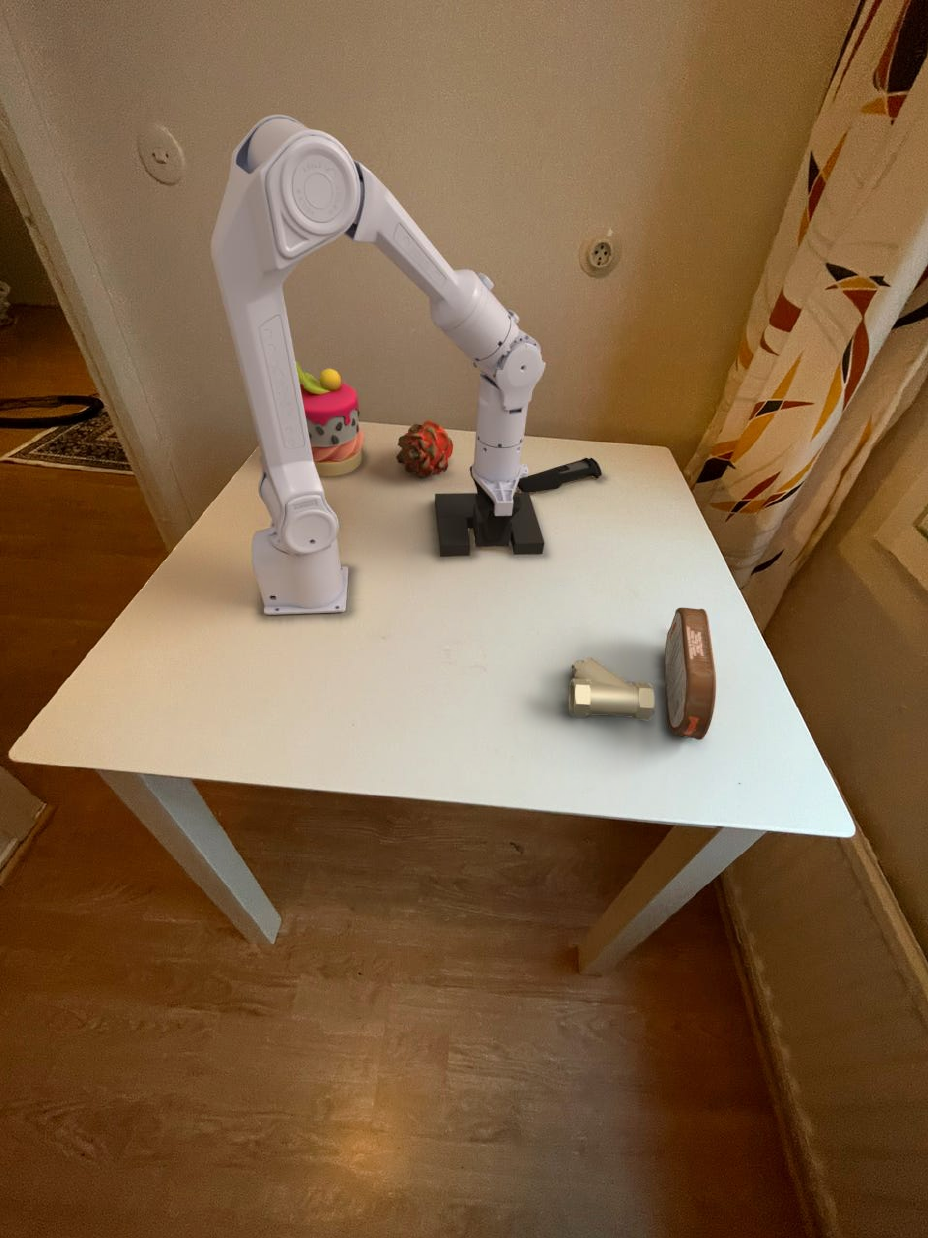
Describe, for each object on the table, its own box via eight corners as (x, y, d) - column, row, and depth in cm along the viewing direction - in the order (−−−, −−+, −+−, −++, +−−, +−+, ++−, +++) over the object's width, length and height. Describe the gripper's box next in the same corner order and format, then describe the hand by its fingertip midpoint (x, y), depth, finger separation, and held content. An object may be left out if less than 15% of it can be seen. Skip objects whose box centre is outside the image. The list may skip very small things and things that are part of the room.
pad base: (440, 556, 75) (440, 545, 73) (434, 504, 83) (435, 493, 82) (542, 554, 76) (544, 542, 75) (527, 503, 85) (529, 492, 83)
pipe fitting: (563, 673, 63) (569, 722, 58) (569, 649, 60) (576, 697, 55) (634, 677, 63) (647, 726, 58) (643, 653, 60) (657, 701, 55)
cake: (351, 438, 95) (342, 347, 85) (373, 469, 89) (365, 374, 78) (290, 450, 92) (272, 356, 81) (308, 483, 85) (291, 386, 75)
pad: (475, 547, 75) (477, 523, 72) (472, 526, 78) (473, 502, 76) (509, 546, 76) (512, 522, 73) (504, 526, 79) (507, 502, 76)
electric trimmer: (508, 490, 87) (510, 472, 85) (588, 467, 92) (592, 450, 90) (521, 503, 85) (523, 485, 83) (602, 479, 90) (607, 461, 88)
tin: (695, 756, 56) (727, 707, 50) (662, 750, 56) (691, 700, 50) (684, 645, 66) (710, 593, 60) (657, 640, 66) (680, 588, 60)
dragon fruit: (416, 501, 86) (423, 470, 96) (462, 472, 83) (465, 443, 93) (382, 456, 82) (393, 428, 91) (429, 424, 79) (435, 399, 88)
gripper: (544, 468, 62) (528, 562, 71) (522, 407, 72) (511, 497, 81) (481, 468, 61) (474, 563, 71) (467, 407, 71) (463, 498, 81)
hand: (490, 528), depth 76 cm, fingers closed on pad, 5 cm apart
